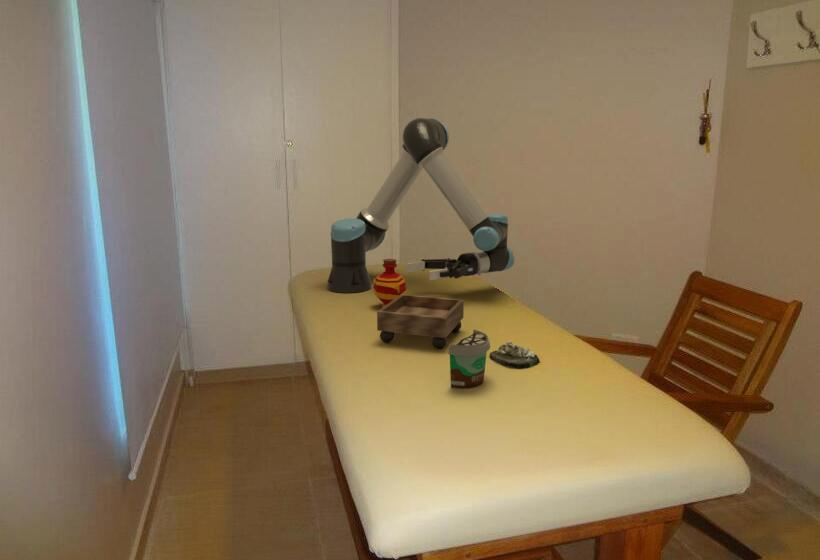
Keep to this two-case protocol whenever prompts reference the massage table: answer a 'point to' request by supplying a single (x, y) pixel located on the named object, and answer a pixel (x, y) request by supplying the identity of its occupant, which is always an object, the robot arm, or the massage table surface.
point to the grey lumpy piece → (514, 356)
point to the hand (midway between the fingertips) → (418, 271)
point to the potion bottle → (389, 283)
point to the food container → (468, 361)
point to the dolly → (420, 318)
